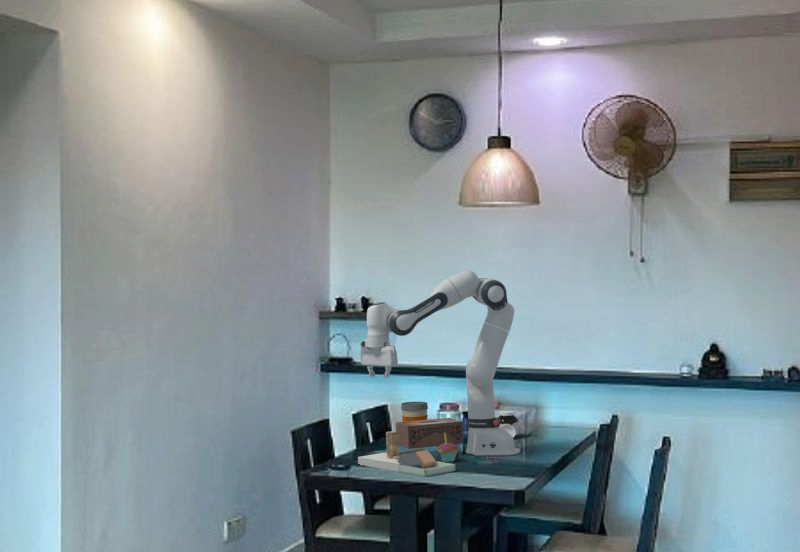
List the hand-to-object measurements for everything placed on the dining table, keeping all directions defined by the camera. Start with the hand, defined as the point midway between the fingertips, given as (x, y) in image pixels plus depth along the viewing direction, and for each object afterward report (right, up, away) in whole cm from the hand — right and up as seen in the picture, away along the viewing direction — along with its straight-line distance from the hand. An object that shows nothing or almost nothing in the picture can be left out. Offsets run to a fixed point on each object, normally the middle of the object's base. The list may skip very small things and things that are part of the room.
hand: (379, 377), depth 424 cm
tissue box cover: (+21, -33, +35) cm, 53 cm away
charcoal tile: (+11, -30, -29) cm, 44 cm away
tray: (+18, -32, -32) cm, 49 cm away
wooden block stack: (+9, -30, -20) cm, 37 cm away
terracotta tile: (+17, -30, -25) cm, 43 cm away
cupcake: (+27, -32, -10) cm, 44 cm away
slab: (+6, -33, -17) cm, 37 cm away
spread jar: (+57, -32, +44) cm, 79 cm away
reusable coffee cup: (+15, -33, +63) cm, 73 cm away
